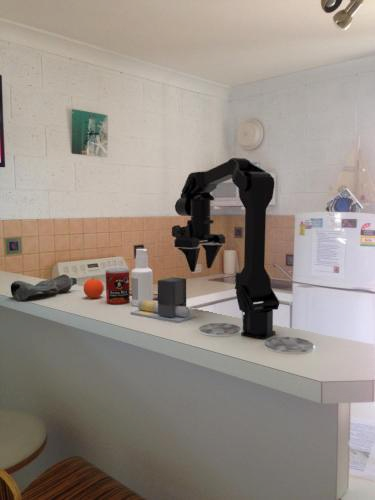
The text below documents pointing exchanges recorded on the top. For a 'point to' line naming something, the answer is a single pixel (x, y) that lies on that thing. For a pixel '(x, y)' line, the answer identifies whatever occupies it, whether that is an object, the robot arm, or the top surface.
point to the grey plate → (151, 311)
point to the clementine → (93, 288)
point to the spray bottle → (141, 278)
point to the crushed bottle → (42, 287)
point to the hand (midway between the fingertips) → (200, 269)
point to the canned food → (117, 286)
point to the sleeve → (171, 295)
